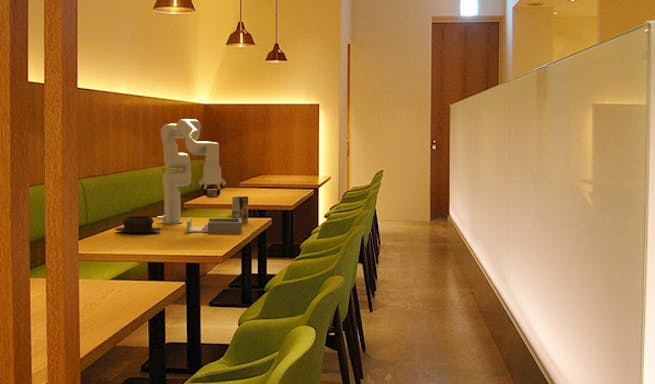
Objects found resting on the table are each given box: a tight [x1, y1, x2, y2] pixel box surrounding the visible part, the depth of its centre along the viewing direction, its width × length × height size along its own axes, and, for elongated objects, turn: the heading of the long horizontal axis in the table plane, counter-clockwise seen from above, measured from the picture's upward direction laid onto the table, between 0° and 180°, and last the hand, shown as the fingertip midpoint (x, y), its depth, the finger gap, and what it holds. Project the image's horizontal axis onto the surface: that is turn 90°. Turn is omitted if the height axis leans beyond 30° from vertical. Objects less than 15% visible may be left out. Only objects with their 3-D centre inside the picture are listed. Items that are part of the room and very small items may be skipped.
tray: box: [186, 216, 208, 234], centre depth 415 cm, size 19×20×6 cm
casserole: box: [114, 215, 162, 235], centre depth 405 cm, size 25×19×8 cm
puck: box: [206, 188, 218, 199], centre depth 414 cm, size 6×6×4 cm
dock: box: [207, 217, 243, 234], centre depth 417 cm, size 18×20×6 cm
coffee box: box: [231, 195, 249, 224], centre depth 453 cm, size 9×6×16 cm
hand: (212, 196), depth 414 cm, fingers closed on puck, 6 cm apart
